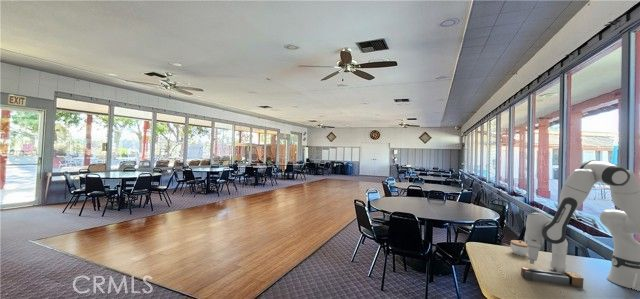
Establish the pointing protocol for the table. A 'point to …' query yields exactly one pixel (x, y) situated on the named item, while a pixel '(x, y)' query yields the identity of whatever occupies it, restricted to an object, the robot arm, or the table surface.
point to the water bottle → (559, 256)
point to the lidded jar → (519, 247)
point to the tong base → (556, 278)
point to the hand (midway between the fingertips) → (531, 263)
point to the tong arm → (541, 272)
